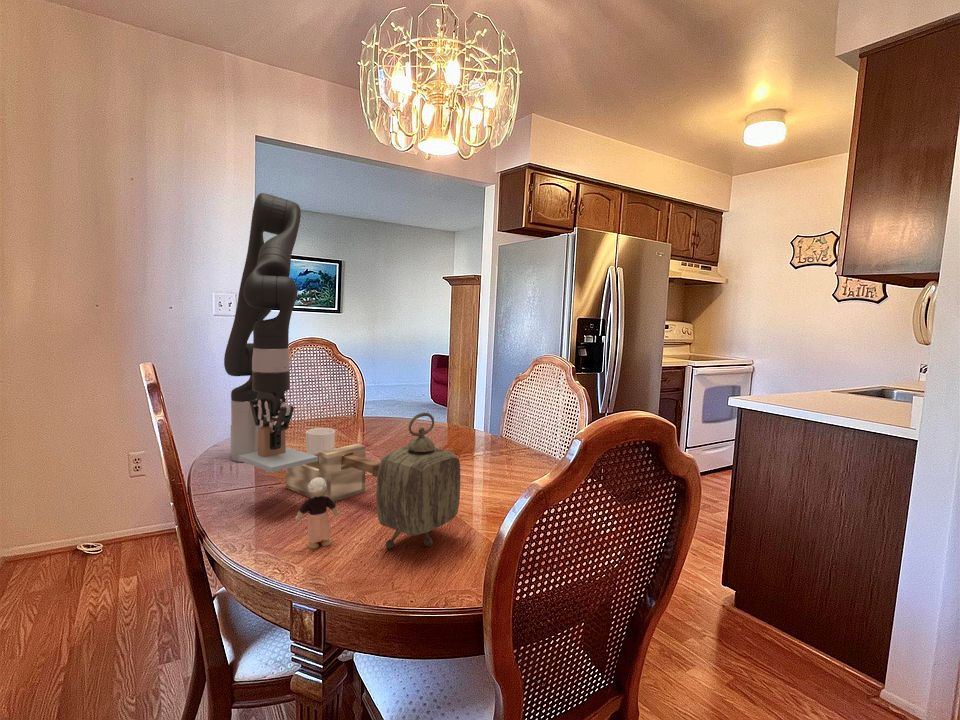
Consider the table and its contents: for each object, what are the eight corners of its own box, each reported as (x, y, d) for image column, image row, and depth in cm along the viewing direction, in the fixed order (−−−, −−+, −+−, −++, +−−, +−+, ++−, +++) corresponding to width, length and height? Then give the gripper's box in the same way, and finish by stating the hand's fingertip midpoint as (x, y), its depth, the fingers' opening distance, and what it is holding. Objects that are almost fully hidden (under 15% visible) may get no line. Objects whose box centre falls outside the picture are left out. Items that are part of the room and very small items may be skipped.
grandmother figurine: (331, 535, 99) (332, 471, 98) (340, 542, 96) (341, 477, 95) (292, 546, 94) (292, 479, 93) (300, 554, 91) (300, 484, 90)
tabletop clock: (426, 524, 106) (430, 405, 103) (461, 536, 100) (466, 411, 98) (375, 549, 94) (377, 415, 92) (412, 564, 89) (415, 423, 86)
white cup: (326, 471, 138) (326, 435, 137) (299, 469, 140) (299, 433, 139) (339, 463, 146) (340, 429, 145) (314, 461, 147) (314, 427, 146)
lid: (238, 460, 110) (238, 428, 109) (284, 450, 119) (284, 420, 118) (271, 472, 103) (271, 438, 102) (318, 461, 111) (318, 429, 111)
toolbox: (285, 488, 124) (285, 442, 123) (323, 477, 133) (324, 434, 132) (326, 504, 115) (327, 454, 114) (364, 492, 123) (365, 445, 122)
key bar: (340, 465, 117) (340, 455, 117) (351, 462, 120) (351, 452, 120) (375, 476, 110) (375, 465, 110) (386, 473, 113) (386, 462, 113)
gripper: (305, 370, 109) (305, 450, 111) (269, 365, 117) (269, 439, 119) (273, 373, 103) (273, 457, 105) (237, 367, 111) (237, 445, 113)
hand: (271, 447), depth 112 cm, fingers closed on lid, 2 cm apart
